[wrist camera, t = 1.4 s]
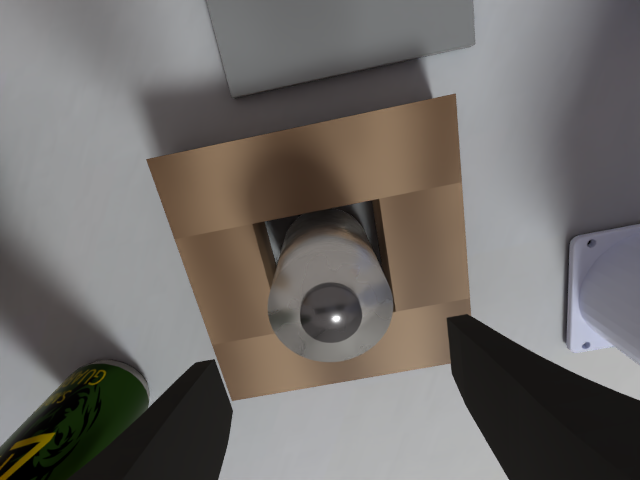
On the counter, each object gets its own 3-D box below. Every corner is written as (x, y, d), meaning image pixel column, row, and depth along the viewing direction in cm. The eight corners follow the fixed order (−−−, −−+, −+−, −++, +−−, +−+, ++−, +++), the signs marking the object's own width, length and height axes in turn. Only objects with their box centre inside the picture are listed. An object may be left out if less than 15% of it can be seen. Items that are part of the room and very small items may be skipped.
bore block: (433, 98, 18) (455, 93, 15) (453, 329, 22) (473, 359, 19) (172, 153, 19) (146, 159, 16) (242, 366, 23) (232, 400, 20)
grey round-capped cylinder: (360, 199, 19) (386, 243, 12) (374, 279, 21) (403, 358, 14) (274, 217, 20) (250, 269, 13) (293, 294, 21) (282, 379, 14)
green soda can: (170, 401, 24) (36, 655, 12) (108, 430, 25) (-70, 695, 13) (119, 343, 22) (-86, 571, 11) (55, 376, 23) (-199, 623, 12)
